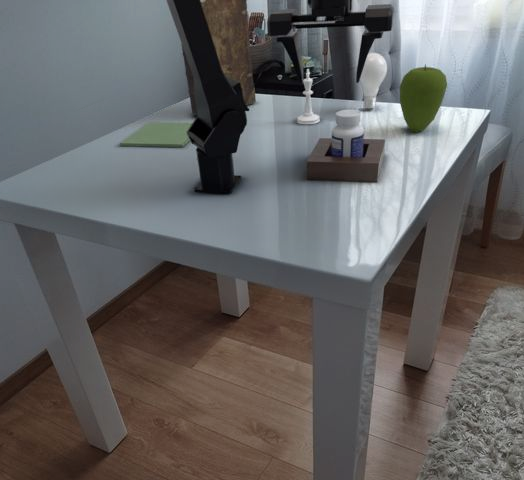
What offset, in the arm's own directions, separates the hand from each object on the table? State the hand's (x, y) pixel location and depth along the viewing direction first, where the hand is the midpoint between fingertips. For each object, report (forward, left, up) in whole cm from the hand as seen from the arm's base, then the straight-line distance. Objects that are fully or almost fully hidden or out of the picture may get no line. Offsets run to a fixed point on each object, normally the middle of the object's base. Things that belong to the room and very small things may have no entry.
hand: (329, 82), depth 83 cm
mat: (+11, +37, -12) cm, 41 cm away
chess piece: (+22, +8, -13) cm, 27 cm away
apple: (+17, -15, -13) cm, 26 cm away
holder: (-4, -4, -12) cm, 14 cm away
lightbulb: (+31, -4, -13) cm, 34 cm away
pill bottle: (-4, -4, -13) cm, 14 cm away
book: (+31, +31, -13) cm, 46 cm away
